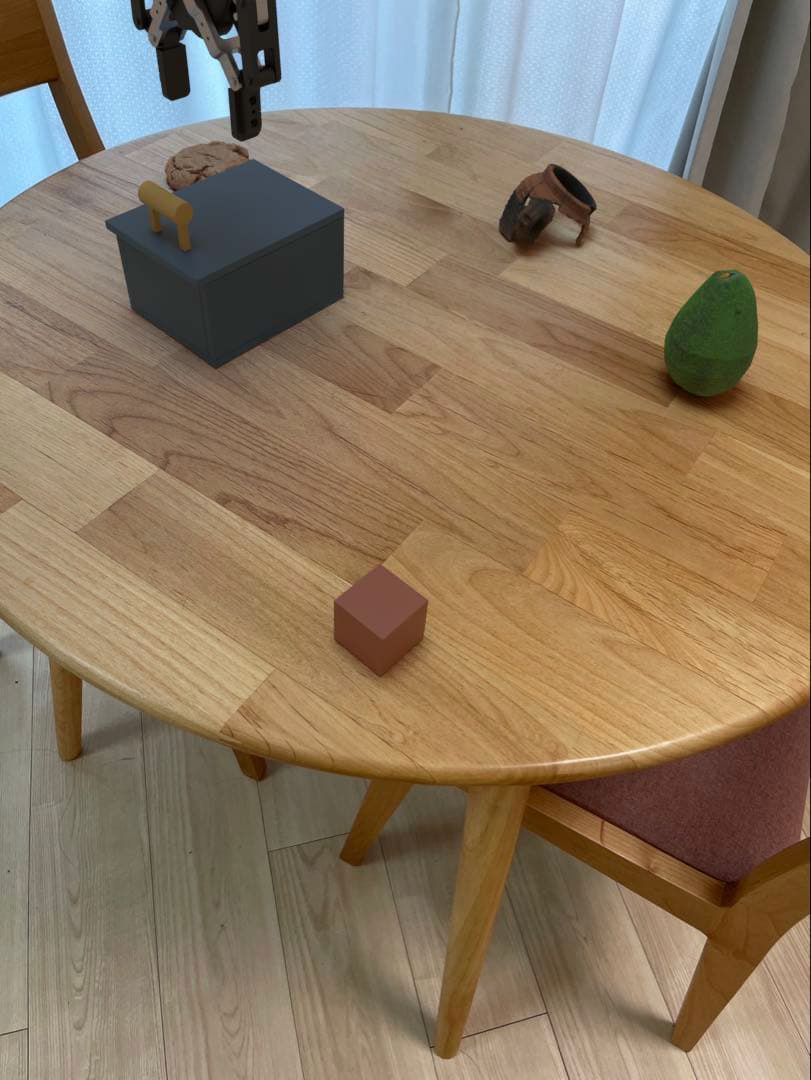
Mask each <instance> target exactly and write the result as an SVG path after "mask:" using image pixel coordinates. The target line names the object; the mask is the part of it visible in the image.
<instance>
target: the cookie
mask: <svg viewBox="0 0 811 1080" xmlns="http://www.w3.org/2000/svg"><path fill="white" fill-rule="evenodd" d="M249 155H250V154H249V151H248V149H247V147H245V146H241V145H239V144H236V143H231V142H230V143H229V142H227V143H226V141H221V140H212V141H210V142H208V143H198V144H195V145H190V146H187V147H183V148H182V149H180V150H179V151H178V152H176V154H174V155H171V156H170V157H169V158H168V160H167V162H166V164H165V167H164V174H165V175H166V183H168V184H169V187H170V188H171V189H174V190H175V191H177V190H180V189H182V188H185V187H187V186H189V185H192V184H194V183H197V182H199V181H201V180H204V179H206V178H209V177H211V176H213V175H216V174H218V173H221V172H223V171H225V170H228V169H230V168H233V167H235V166H237V165H240V164H242V163H245V162H247V161H249V160H252V159H253V158H251V159H250V156H249Z"/></svg>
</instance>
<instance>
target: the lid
mask: <svg viewBox="0 0 811 1080" xmlns="http://www.w3.org/2000/svg"><path fill="white" fill-rule="evenodd" d="M251 159H252V160H251ZM251 159H250V160H249V161H247V162H245V163H242V164H240V165H237V166H235V167H233V168H230V169H228V170H225V171H223V172H221V173H218V174H216V175H213V176H211V177H209V178H206V179H204V180H201V181H199V182H197V183H194V184H192V185H189V186H187V187H185V188H182V189H180V190H175V191H173V192H171V191H169V190H167V189H166V188H164V187H162V186H161V185H160V184H157V183H156V182H154V181H153V180H145V181H143V182H142V183H141V184H139V185H140V186H139V187H138V189H137V198H138V200H139V201H140V203H142V204H141V205H139V206H137V207H134V208H131V209H130V210H127V211H125V212H123V213H120V214H117V215H115V216H112V217H110V218H108V219H106V220H104V223H105V228H106V229H107V230H108V231H109V232H111V233H112V234H114V235H115V236H116V235H117V236H118V237H120V238H122V239H123V240H125V241H126V242H128V243H129V244H131V245H132V246H134V247H135V248H137V249H138V250H140V251H141V252H143V253H144V254H146V255H147V256H149V257H150V258H152V259H153V260H155V261H156V262H158V263H159V264H161V265H162V266H164V267H165V268H167V269H169V270H170V271H172V272H173V273H175V274H176V275H178V276H179V277H181V278H182V279H184V280H185V281H187V282H188V283H190V284H191V285H193V286H194V287H196V288H200V287H202V286H204V285H206V284H208V283H210V282H212V281H214V280H216V279H218V278H220V277H222V276H224V275H226V274H228V273H230V272H232V271H234V270H236V269H238V268H240V267H242V266H244V265H246V264H248V263H250V262H252V261H254V260H256V259H258V258H260V257H262V256H264V255H267V254H269V253H271V252H273V251H275V250H277V249H279V248H281V247H283V246H285V245H287V244H289V243H291V242H293V241H295V240H297V239H299V238H301V237H303V236H305V235H307V234H309V233H311V232H313V231H315V230H317V229H319V228H321V227H323V226H325V225H327V224H329V223H331V222H333V221H335V220H337V219H339V218H341V217H345V208H344V207H343V206H341V205H339V204H338V203H335V202H333V201H332V200H330V199H329V198H326V197H324V196H322V195H321V194H319V193H317V192H315V191H314V190H311V189H310V188H308V187H306V186H305V185H302V184H300V183H299V182H297V181H295V180H293V179H292V178H289V177H288V176H286V175H284V174H282V173H280V172H278V171H277V170H275V169H273V168H271V167H269V166H267V165H266V164H264V163H262V162H260V161H258V160H257V159H255V158H251Z"/></svg>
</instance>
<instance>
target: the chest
mask: <svg viewBox="0 0 811 1080" xmlns="http://www.w3.org/2000/svg"><path fill="white" fill-rule="evenodd" d="M115 238H116V242H117V248H118V252H119V256H120V261H121V265H122V266H121V267H122V271H123V275H124V281H125V284H126V289H127V294H128V299H129V304H130V308H131V310H132V311H134V312H135V313H137V314H138V315H139V316H141V317H142V318H144V319H145V320H147V321H148V322H149V323H151V324H152V325H153V326H155V327H156V328H158V329H159V330H161V331H162V332H163V333H165V334H166V335H168V336H169V337H171V338H172V339H174V340H175V341H176V342H177V343H179V344H180V345H182V346H183V347H185V348H186V350H187V349H188V350H189V351H190V352H192V354H195V355H196V356H197V357H199V358H200V359H201V360H202V361H204V362H206V363H207V364H209V365H210V366H211V367H213V368H214V369H218V368H220V367H222V366H223V365H225V364H227V363H229V362H230V361H233V360H234V359H236V358H238V357H239V356H241V355H243V354H245V353H247V352H248V351H250V350H252V349H254V348H255V347H257V346H259V345H261V344H263V343H264V342H266V341H268V340H269V339H272V338H273V337H275V336H277V335H279V334H280V333H283V332H284V331H286V330H287V329H290V328H291V327H293V326H295V325H296V324H298V323H300V322H302V321H304V320H305V319H307V318H309V317H311V316H312V315H315V314H316V313H318V312H319V311H321V310H323V309H325V308H327V307H329V306H330V305H332V304H334V303H336V302H338V301H339V300H341V299H343V298H344V297H345V290H344V289H345V284H344V283H345V281H344V280H345V216H343V217H341V218H339V219H337V220H335V221H333V222H331V223H329V224H327V225H325V226H323V227H321V228H319V229H317V230H315V231H313V232H311V233H309V234H307V235H305V236H303V237H301V238H299V239H297V240H295V241H293V242H291V243H289V244H287V245H285V246H283V247H281V248H279V249H277V250H275V251H273V252H271V253H269V254H267V255H264V256H262V257H260V258H258V259H256V260H254V261H252V262H250V263H248V264H246V265H244V266H242V267H240V268H238V269H236V270H234V271H232V272H230V273H228V274H226V275H224V276H222V277H220V278H218V279H216V280H214V281H212V282H210V283H208V284H206V285H204V286H202V287H200V288H196V287H194V286H193V285H191V284H190V283H188V282H187V281H185V280H184V279H182V278H181V277H179V276H178V275H176V274H175V273H173V272H172V271H170V270H169V269H167V268H165V267H164V266H162V265H161V264H159V263H158V262H156V261H155V260H153V259H152V258H150V257H149V256H147V255H146V254H144V253H143V252H141V251H140V250H138V249H137V248H135V247H134V246H132V245H131V244H129V243H128V242H126V241H125V240H123V239H122V238H120V237H118V236H117V235H115Z"/></svg>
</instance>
